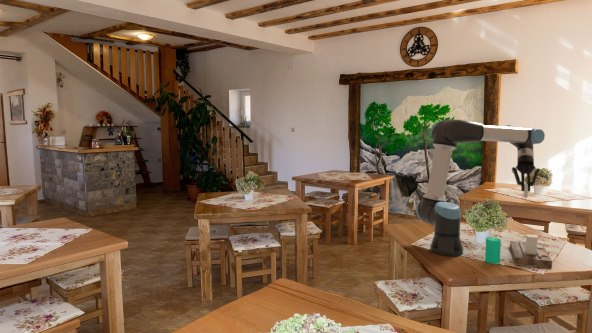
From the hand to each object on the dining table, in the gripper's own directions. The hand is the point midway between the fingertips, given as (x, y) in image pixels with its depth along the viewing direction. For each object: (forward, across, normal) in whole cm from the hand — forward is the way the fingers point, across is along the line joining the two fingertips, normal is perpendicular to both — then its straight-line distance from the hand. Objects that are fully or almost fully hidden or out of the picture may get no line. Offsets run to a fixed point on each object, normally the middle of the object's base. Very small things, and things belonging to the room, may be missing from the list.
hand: (525, 196), depth 205 cm
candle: (+40, +14, +4) cm, 42 cm away
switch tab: (+31, -2, +1) cm, 31 cm away
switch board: (+30, -2, -6) cm, 30 cm away
